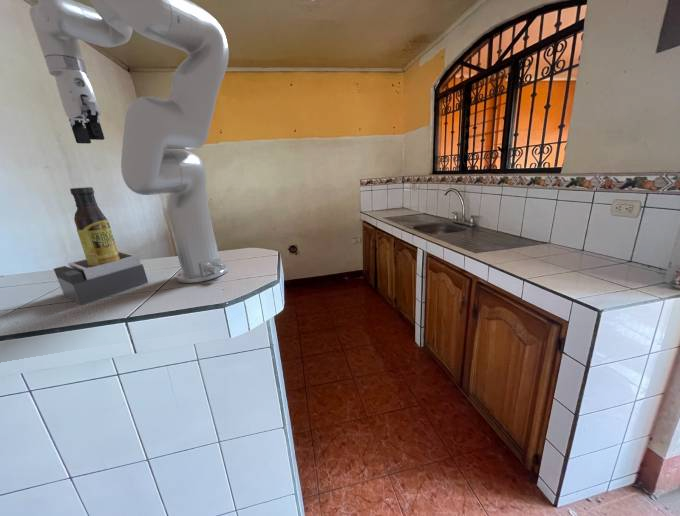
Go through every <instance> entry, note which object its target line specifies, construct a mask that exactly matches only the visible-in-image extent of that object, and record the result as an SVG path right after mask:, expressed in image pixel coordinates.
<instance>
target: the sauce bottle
mask: <svg viewBox="0 0 680 516" xmlns="http://www.w3.org/2000/svg"><path fill="white" fill-rule="evenodd" d="M70 194H71V195H72V197H73V199H74V202H75V207H76V211H75V214H74V217H73V219H74V224H75V226H76V231H77V235H78V238H79V240H80V241H79V242H80V244H81V247H82V249H83V250H82V251H83V253H84V256H85V259H86V260H87V263H88V265H89V266H90V267H92V266H96V265H100V264H104V263H108V262H112V261H115V260H119V259H120V258H119V255H118V249H117V245H116V242H115V239H114V238H115V237H114V235H113V232H112V229H111V225H110V222H109V220H108V218H107V217H106V216H105V214H104V213H103V212H102V210H101V209H100V208H99V206H98V203H97V201H96V198H95V197H96V196H95V190H94V188H93V187H92V186H87V187H86V186H85V187H73V188H72V187H71V188H70Z"/></svg>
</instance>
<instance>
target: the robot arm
mask: <svg viewBox="0 0 680 516" xmlns="http://www.w3.org/2000/svg"><path fill="white" fill-rule="evenodd" d="M89 1H90V3H91V5H92V7H91V6H88V5H85V4H83V3H81V2H78V1H75V0H37V4H35V5H32V6H31V7H30V8H29V16H30V18H31V21H32V25H33V28H34V31H35V33H36V34H35V35H36V36H37V40H38V43H39V46H40V49H41V52H42V56H43V58H44V60H45V63H46V67H47V70H48V72H49V75H51V76H52V77H54V78H55V82H56V87H57V90H58V94H59V97H60V101H61V104H62V107H63V110H64V113H65V115H66V117H67V118H68V122H70V123H69V124H70V127H71V131H72V133H73V136H74V139H75V143H77V144H91V143H92V140H94V141H96V140H97V141H99V140H101V141H103V140H105V135H104V132H103V129H102V126H101V123H100V122H101V121H100V118H99V117H100V115H101V110H100V107H99V104H98V100H97V98H96V95H95V92H94V89H93V86H92V84H91V82H90V79H89V74H88V71H87V68H86V64H85V60H84V58H83V54H82V51H81V47H80V44H79V41H83V42H86V43H89V44H91V45H96V46H98V47H99V46H100V47H103V48H114V47H118V46H122V45H124V44H126V43H128V42H129V41H130V39H131V37H132V35H133V30H134V31H135V32H136V33H138V34H140V35H141V36H143V37H145V38H147V39H149V40H152V41H155V42H157V43H160V44H163V45H166V46H169V47H170V48H171V47H172V48H174V49H178V50H180V51H182V52H185V53H186V54H187V57H186V58H185V59H184V60H183V61H182V62H181V63H180V64H179V65H178V67H177V68H176V69H175V71H174V73H173V77H172V80H171V88H170V92H169V95H168V97H167V98H162V97H157V96H150V95H149V96H147V95H146V96H140V97H139V96H138V97H137V98H135V99H134V100H133V101H132V102H131V103H130V104H129V106H128V108H127V109H126V112H125V118H124V125H123V126H124V128H123V136H122V145H121V146H122V149H121V157H120V158H121V159H120V168H121V169H120V171H121V175H122V179H123V182H124V183H125V185H126V187H128V189H130V191H132V192H133V193H135V194H138V195H140V196H141V195H142V196H156V195H161V194H168V193H169V195H168V200H167V204H166V214H167V220H168V223H169V227H170V230H171V235H172V239H173V242H174V245H175V249H176V250H175V251H176V254H177V258H178V263H179V265H180V270H181V271H179V272H178V273H177V274H176V276H175V278H176V281H178V282H179V283H184V284H194V283H195V284H196V283H202V282H206V281H210V280H213V279H216V278H219V277H221V276H223V275H224V274H225V273H227V272H228V270H229V268H228V265H227V264H226V263H224V262H221V257H220V256H219V251H218V245H217V242H216V237H215V233H214V228H213V222H212V217H211V212H210V208H209V207H210V206H209V202H208V196H207V175H206V167H205V165H204V163H203V160H202V159H201V158H200V157H199V156H198V155H197V154H195V153H194V152H192V151H189V150H196V149H199V148H202V147H203V146H204V145H205V144H206V143H207V140H208V136H209V132H210V129H211V124H212V120H213V117H214V112H215V107H216V102H217V98H218V95H219V90H220V88H221V86H222V82H223V79H224V77H225V74H226V71H227V68H228V64H229V59H230V58H229V57H230V56H229V55H230V53H229V52H230V51H229V43H228V39H227V36H226V32H225V31H224V29H223V27H222V26H221V24H220V23H219V22H218V20H217V19H216V18H215V17H214V16H213V15H212V14H210V13H209V12H208V11H207V10H205V9H204V8H202V7H201V6H199V5H198V4H197V3H194V2H193V1H191V0H89ZM78 40H79V41H78Z"/></svg>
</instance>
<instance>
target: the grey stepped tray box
mask: <svg viewBox="0 0 680 516" xmlns="http://www.w3.org/2000/svg"><path fill="white" fill-rule="evenodd" d="M117 251H118V250H117ZM118 255H119V258H120V259H119V260H115V261H112V262H108V263H104V264H100V265H96V266H92V267H90V266H89V265H88V263H87V260H86V258H85V259H81V260H77V261H73V262H72V261H71V262H68V263H67V266H65V265H64V266H58V267H55V268H53V271H54V273H55V277H56V279H57V281H58V283H59V286H60V289H61V290H62V293H63V296H64V297H66V298H68V299H69V300H71V301H72V302H75V303H76V304H78V305H79V306H83V305H86V304H90V303H92V302H95V301H98V300H102V299H104V298H107V297H110V296H112V295H113V296H114V295H116V294H119V293H121V292H125V291H128V290H131V289H134V288H136V287H139V286H143V285H146V284H148V283H149V281H148V277H147V274H146V271H145V267H144V265H143V264H142V262H141V260H140V257H139V255H138V254H134V253H132V252H131V253H130V252H127V251H122V250H119V251H118Z"/></svg>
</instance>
